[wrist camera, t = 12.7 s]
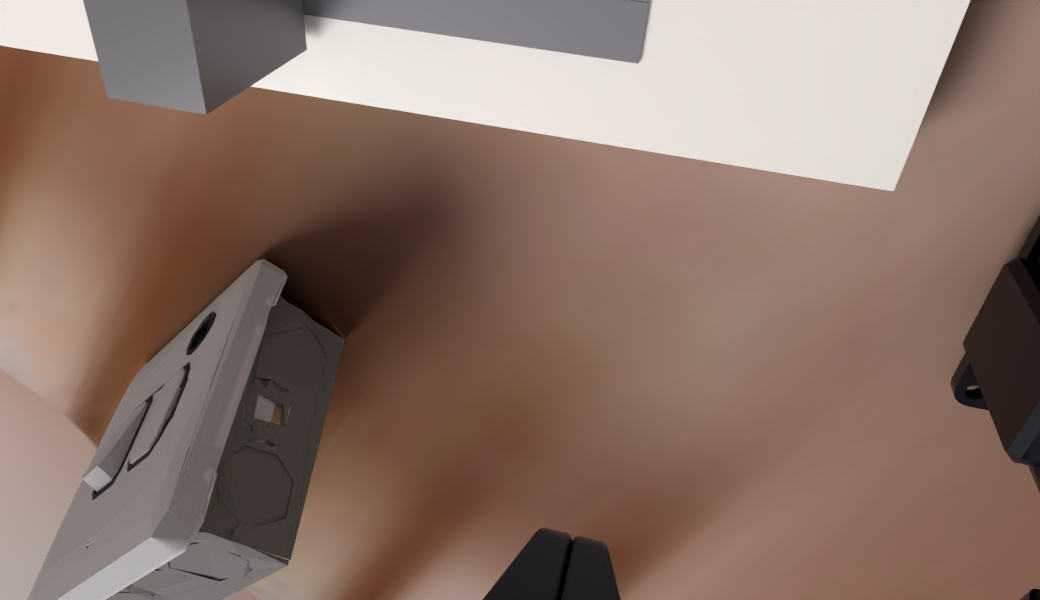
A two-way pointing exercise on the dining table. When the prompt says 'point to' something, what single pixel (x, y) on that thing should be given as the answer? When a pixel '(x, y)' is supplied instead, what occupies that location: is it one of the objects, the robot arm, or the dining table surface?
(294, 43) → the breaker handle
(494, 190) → the dining table surface
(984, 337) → the robot arm
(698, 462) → the dining table surface
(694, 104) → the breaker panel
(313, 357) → the electrical switch
